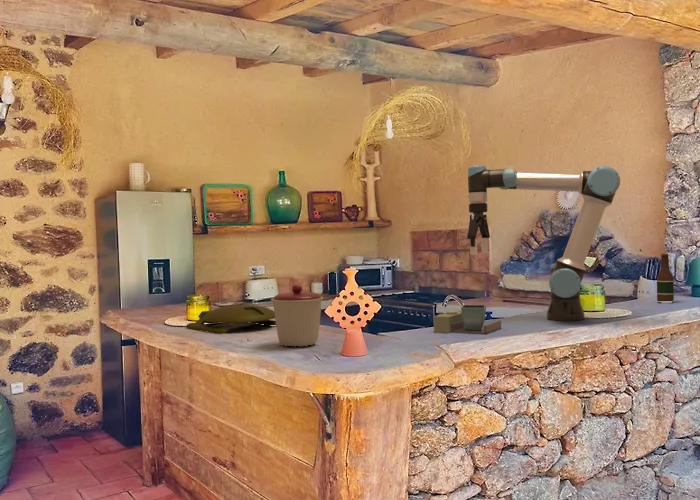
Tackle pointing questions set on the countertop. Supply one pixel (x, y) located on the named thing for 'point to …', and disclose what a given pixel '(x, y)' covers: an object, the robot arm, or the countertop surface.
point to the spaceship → (233, 317)
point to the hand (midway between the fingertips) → (479, 254)
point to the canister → (297, 317)
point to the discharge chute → (486, 329)
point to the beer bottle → (665, 281)
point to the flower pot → (473, 316)
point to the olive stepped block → (446, 321)
